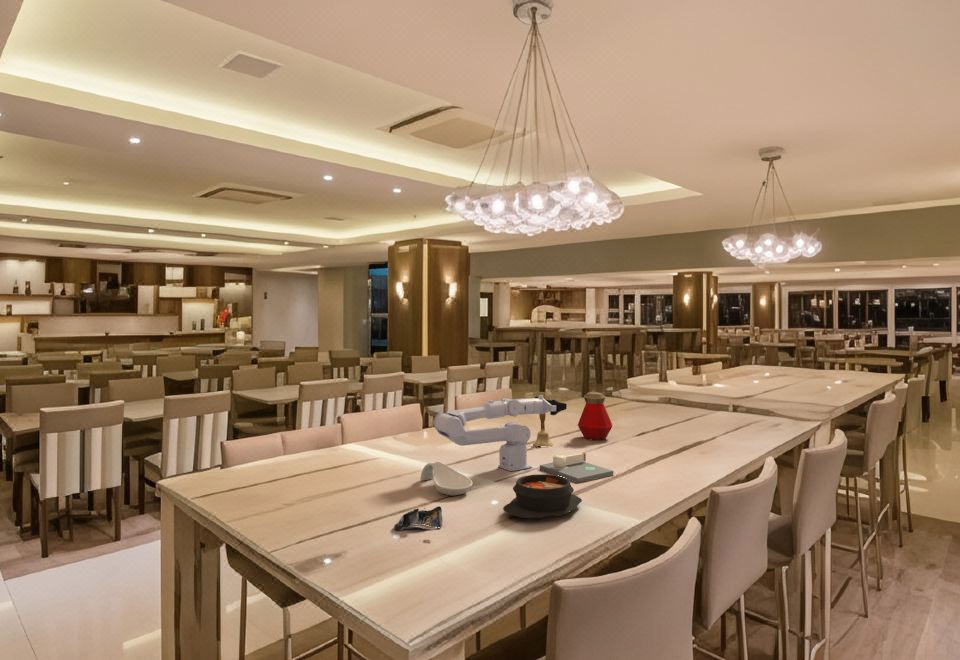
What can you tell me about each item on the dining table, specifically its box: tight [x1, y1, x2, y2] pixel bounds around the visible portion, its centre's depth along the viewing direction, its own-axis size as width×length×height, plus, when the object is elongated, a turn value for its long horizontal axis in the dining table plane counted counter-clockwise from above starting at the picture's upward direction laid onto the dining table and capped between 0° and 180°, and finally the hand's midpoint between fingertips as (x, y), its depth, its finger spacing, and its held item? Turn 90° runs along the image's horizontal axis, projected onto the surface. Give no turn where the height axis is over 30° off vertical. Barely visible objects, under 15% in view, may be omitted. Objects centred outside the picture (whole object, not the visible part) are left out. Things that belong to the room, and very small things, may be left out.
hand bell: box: [532, 413, 554, 447], centre depth 243 cm, size 8×8×16 cm
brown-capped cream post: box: [552, 452, 587, 467], centre depth 204 cm, size 14×4×3 cm, turn 123°
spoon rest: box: [420, 461, 474, 497], centre depth 184 cm, size 24×12×7 cm, turn 35°
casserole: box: [502, 473, 583, 520], centre depth 162 cm, size 25×19×8 cm
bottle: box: [577, 391, 613, 441], centre depth 255 cm, size 16×14×20 cm
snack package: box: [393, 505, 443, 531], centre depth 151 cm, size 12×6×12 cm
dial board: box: [539, 461, 614, 484], centre depth 201 cm, size 16×20×2 cm
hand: (559, 404), depth 218 cm, fingers open, 7 cm apart
